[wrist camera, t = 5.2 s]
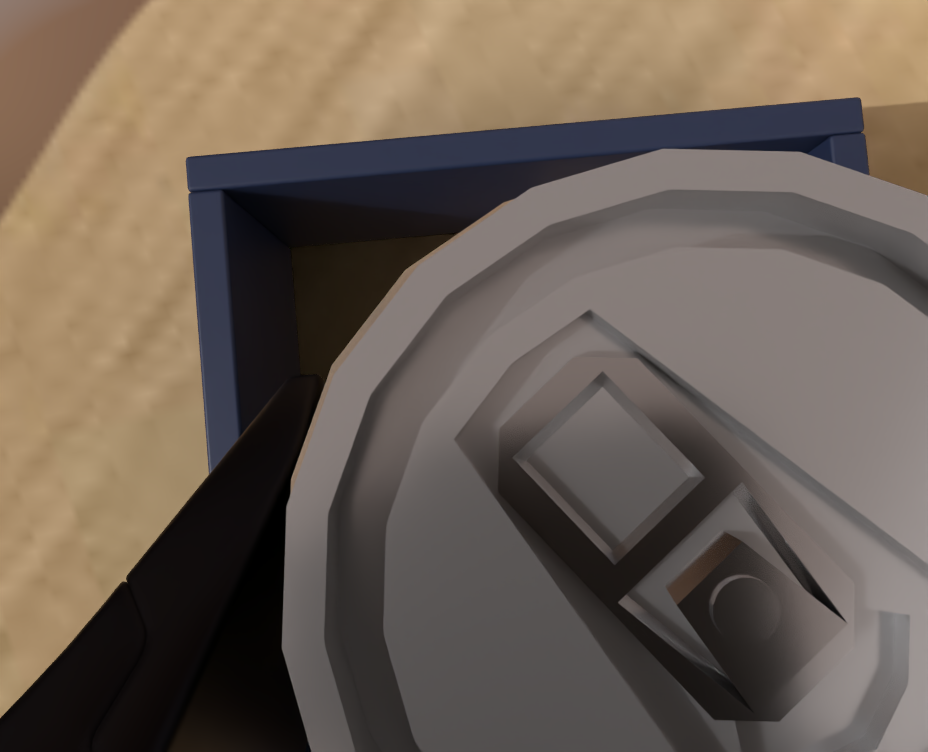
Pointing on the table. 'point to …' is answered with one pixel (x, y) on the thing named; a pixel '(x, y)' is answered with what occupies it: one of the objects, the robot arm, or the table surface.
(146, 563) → the robot arm
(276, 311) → the bin
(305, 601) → the beer can
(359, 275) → the table surface
